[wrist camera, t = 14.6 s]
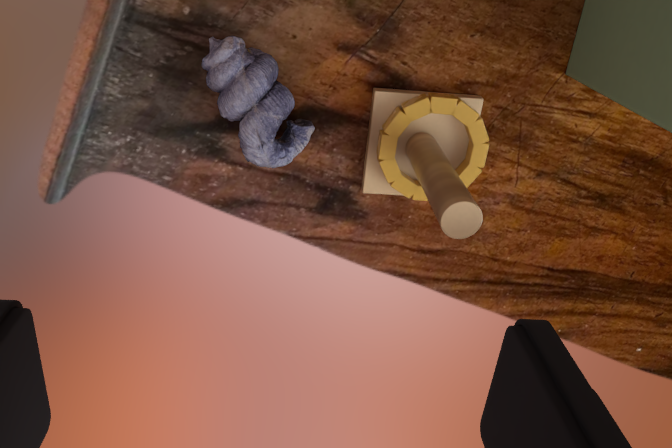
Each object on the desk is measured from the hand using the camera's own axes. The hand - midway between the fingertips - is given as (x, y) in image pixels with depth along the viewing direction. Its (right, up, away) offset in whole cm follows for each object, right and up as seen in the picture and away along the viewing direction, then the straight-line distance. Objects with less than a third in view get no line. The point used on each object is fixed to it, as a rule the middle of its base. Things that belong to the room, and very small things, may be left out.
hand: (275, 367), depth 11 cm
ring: (+8, +9, +31) cm, 34 cm away
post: (+7, +9, +32) cm, 34 cm away
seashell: (-5, +12, +30) cm, 33 cm away
